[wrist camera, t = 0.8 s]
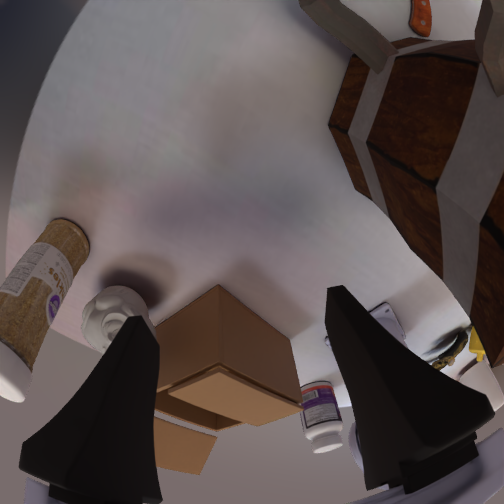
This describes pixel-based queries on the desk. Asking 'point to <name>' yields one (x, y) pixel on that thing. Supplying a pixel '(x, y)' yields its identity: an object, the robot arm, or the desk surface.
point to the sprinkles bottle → (35, 301)
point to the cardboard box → (224, 366)
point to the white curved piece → (421, 17)
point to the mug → (431, 149)
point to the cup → (484, 383)
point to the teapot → (476, 345)
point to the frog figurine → (111, 315)
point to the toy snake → (451, 352)
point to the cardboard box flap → (181, 447)
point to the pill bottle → (321, 417)
